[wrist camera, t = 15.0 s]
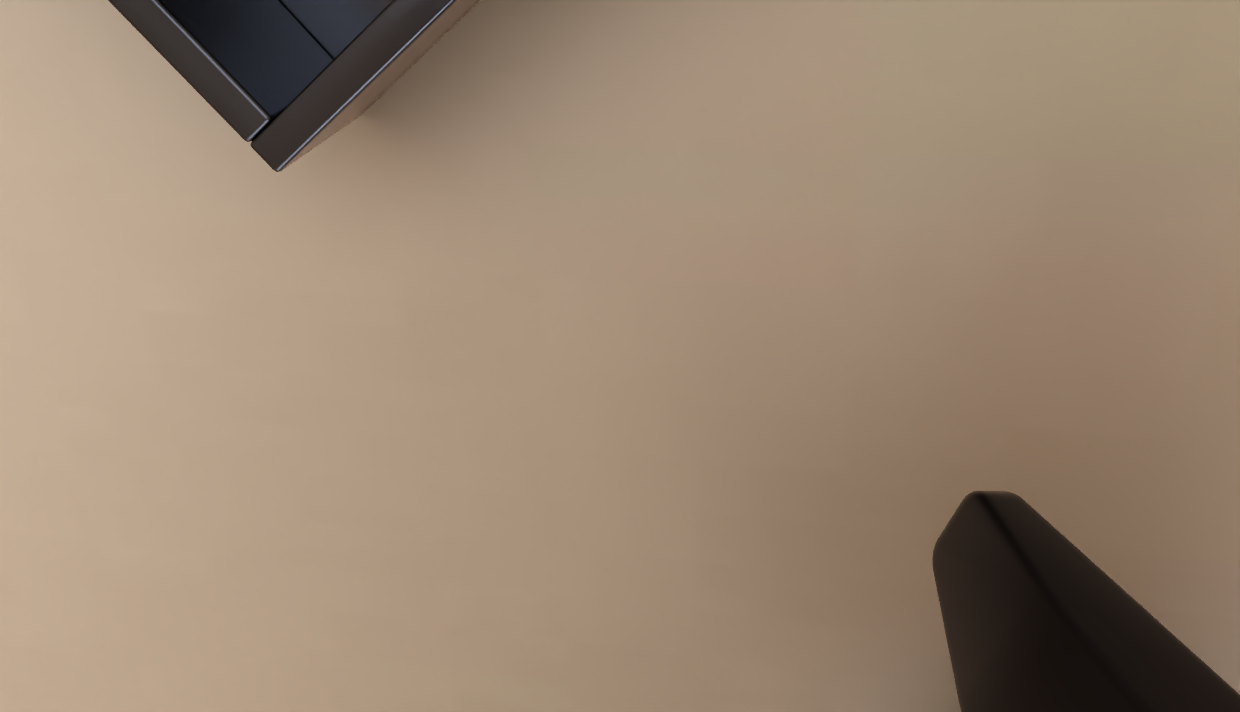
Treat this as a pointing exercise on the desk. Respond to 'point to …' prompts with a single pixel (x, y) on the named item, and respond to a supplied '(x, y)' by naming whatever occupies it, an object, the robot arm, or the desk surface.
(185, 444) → the desk surface
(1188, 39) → the desk surface
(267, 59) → the black tray
